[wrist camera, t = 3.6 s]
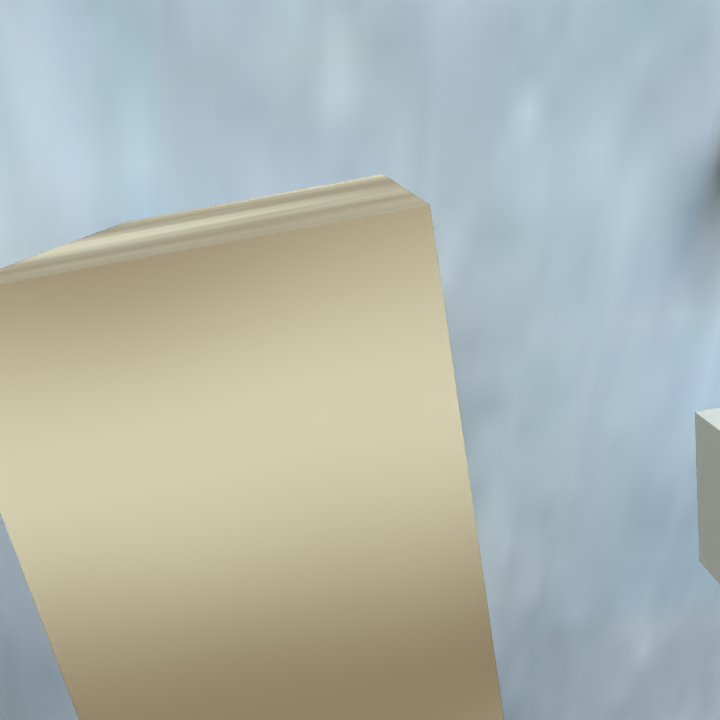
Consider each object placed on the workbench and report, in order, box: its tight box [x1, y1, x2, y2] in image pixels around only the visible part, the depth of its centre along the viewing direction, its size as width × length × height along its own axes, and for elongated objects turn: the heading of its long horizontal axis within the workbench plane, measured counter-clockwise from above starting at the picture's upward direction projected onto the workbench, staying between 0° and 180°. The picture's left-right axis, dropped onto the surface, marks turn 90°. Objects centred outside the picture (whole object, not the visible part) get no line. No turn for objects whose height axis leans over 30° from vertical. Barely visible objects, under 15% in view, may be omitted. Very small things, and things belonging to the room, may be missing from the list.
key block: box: [0, 174, 504, 720], centre depth 12 cm, size 11×5×7 cm, turn 10°
